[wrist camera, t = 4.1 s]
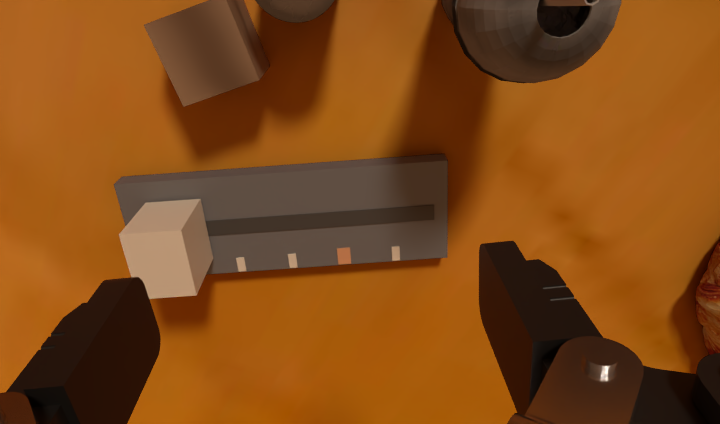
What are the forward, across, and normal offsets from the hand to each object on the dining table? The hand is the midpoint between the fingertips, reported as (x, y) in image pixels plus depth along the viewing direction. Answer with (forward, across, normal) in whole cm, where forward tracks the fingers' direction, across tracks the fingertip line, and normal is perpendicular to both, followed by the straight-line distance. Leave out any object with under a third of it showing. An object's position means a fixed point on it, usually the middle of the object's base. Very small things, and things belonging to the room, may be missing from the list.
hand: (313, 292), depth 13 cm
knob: (+25, +12, +10) cm, 29 cm away
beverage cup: (+27, -10, -4) cm, 29 cm away
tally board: (+26, +4, +10) cm, 29 cm away
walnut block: (+27, +7, -3) cm, 28 cm away
